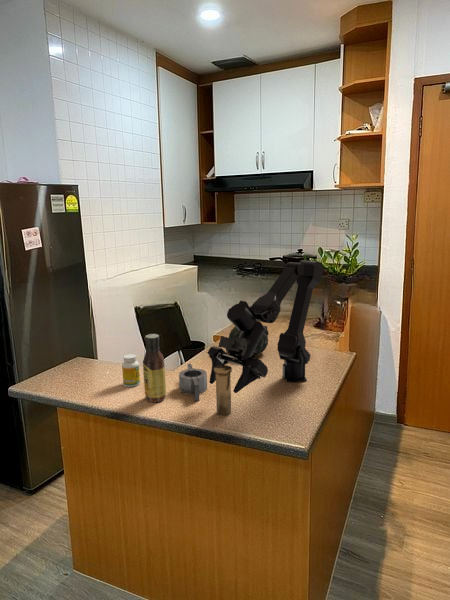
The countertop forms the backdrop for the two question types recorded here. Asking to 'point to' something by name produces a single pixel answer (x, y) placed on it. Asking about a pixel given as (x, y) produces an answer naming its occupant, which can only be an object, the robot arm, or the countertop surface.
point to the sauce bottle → (154, 370)
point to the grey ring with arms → (193, 381)
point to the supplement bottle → (130, 371)
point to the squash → (261, 344)
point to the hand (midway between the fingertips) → (222, 387)
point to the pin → (223, 389)
